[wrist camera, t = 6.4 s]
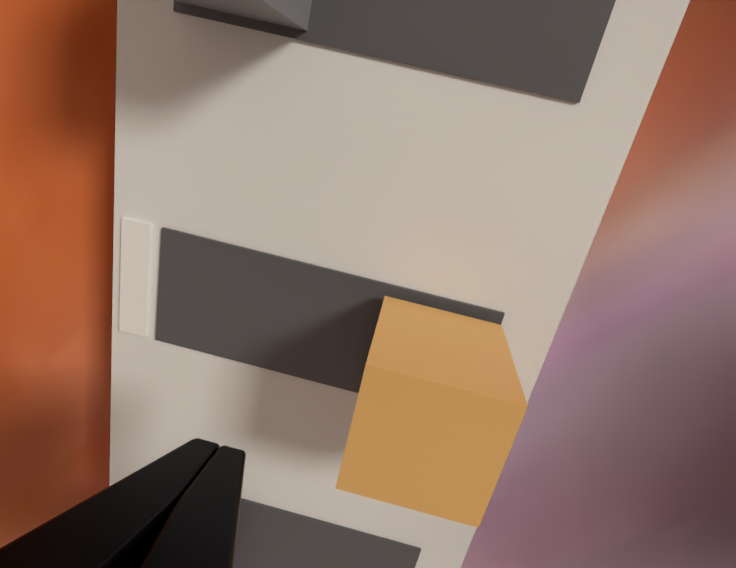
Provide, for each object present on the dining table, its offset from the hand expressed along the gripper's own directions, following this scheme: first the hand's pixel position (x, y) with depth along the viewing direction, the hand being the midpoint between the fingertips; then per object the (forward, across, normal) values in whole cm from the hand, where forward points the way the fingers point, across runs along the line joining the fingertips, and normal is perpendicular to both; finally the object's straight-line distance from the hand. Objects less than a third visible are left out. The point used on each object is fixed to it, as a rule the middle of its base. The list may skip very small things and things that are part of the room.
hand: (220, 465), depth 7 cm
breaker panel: (+8, 0, 0) cm, 8 cm away
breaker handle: (+5, -3, 0) cm, 6 cm away
